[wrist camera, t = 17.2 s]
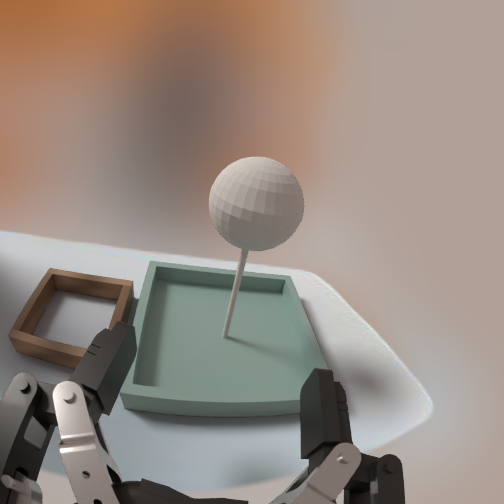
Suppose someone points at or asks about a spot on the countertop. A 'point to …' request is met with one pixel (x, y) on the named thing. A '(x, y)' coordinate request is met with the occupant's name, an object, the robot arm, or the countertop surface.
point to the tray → (219, 344)
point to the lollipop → (254, 210)
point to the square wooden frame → (40, 300)
